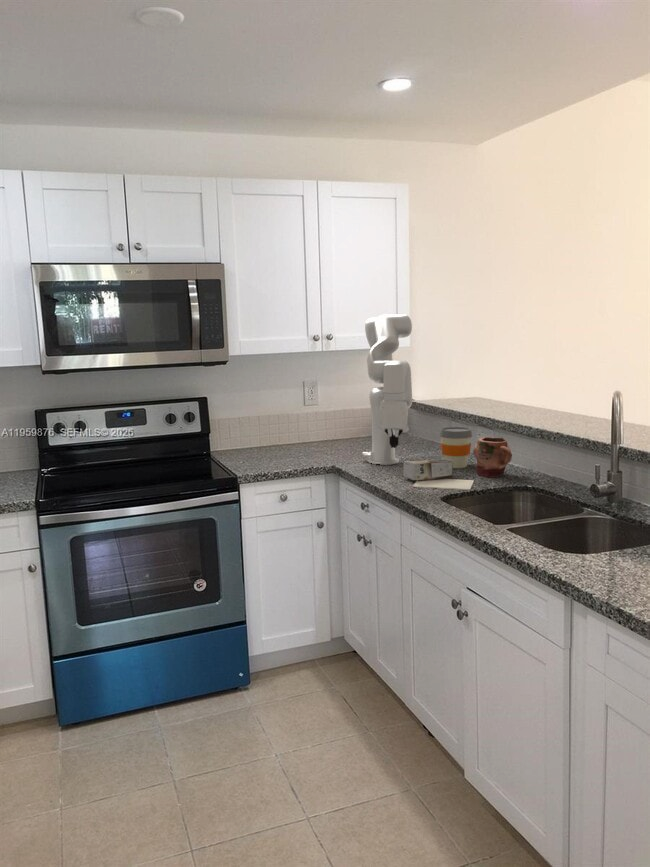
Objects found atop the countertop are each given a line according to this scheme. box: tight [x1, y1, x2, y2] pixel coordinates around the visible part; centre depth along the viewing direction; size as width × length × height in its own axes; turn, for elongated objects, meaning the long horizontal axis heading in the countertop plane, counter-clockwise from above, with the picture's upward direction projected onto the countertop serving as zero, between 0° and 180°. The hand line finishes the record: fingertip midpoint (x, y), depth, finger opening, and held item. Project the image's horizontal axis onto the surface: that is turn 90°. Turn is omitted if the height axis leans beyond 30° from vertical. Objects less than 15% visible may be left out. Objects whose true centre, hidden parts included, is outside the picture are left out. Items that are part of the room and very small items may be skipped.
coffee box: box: [403, 459, 454, 481], centre depth 264 cm, size 9×6×16 cm
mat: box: [412, 478, 475, 491], centre depth 255 cm, size 20×14×1 cm
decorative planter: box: [472, 437, 513, 478], centre depth 268 cm, size 20×12×14 cm, turn 30°
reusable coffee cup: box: [439, 426, 473, 469], centre depth 286 cm, size 13×13×15 cm
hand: (394, 447), depth 259 cm, fingers closed
